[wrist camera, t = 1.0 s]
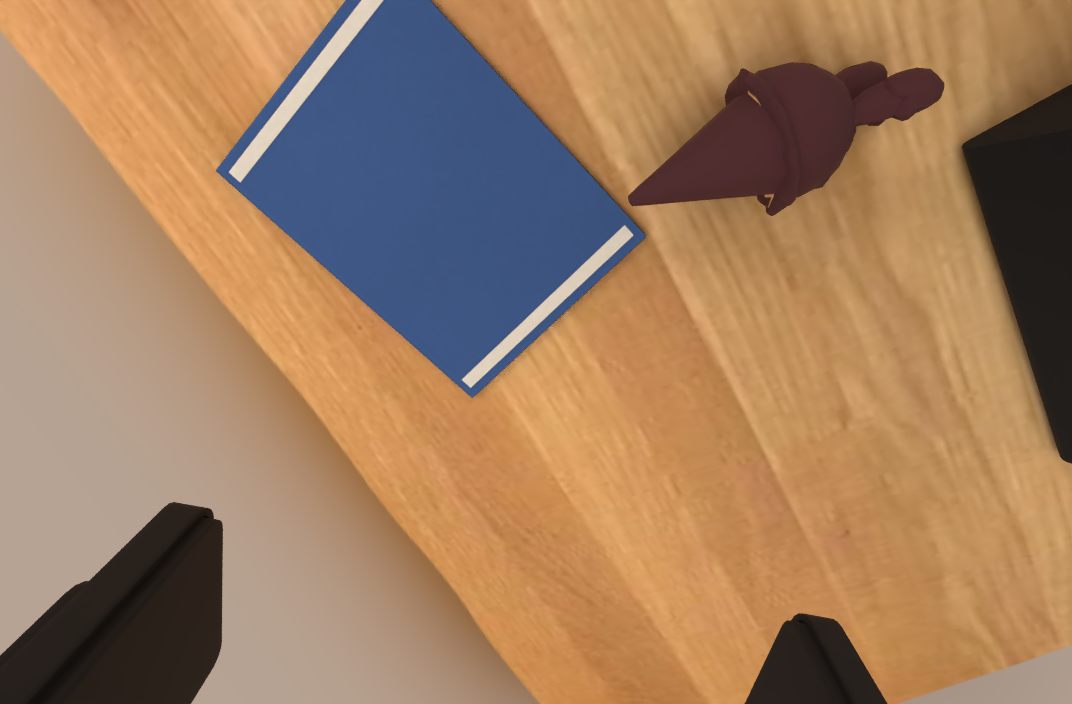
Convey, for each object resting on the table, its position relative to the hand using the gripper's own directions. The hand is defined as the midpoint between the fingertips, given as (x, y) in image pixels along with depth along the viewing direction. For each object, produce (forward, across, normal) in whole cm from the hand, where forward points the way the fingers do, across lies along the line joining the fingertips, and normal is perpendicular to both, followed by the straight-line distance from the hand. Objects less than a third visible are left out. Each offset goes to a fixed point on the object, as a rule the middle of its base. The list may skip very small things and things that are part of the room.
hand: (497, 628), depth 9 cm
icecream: (+27, -10, -10) cm, 31 cm away
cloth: (+27, +6, -2) cm, 28 cm away
